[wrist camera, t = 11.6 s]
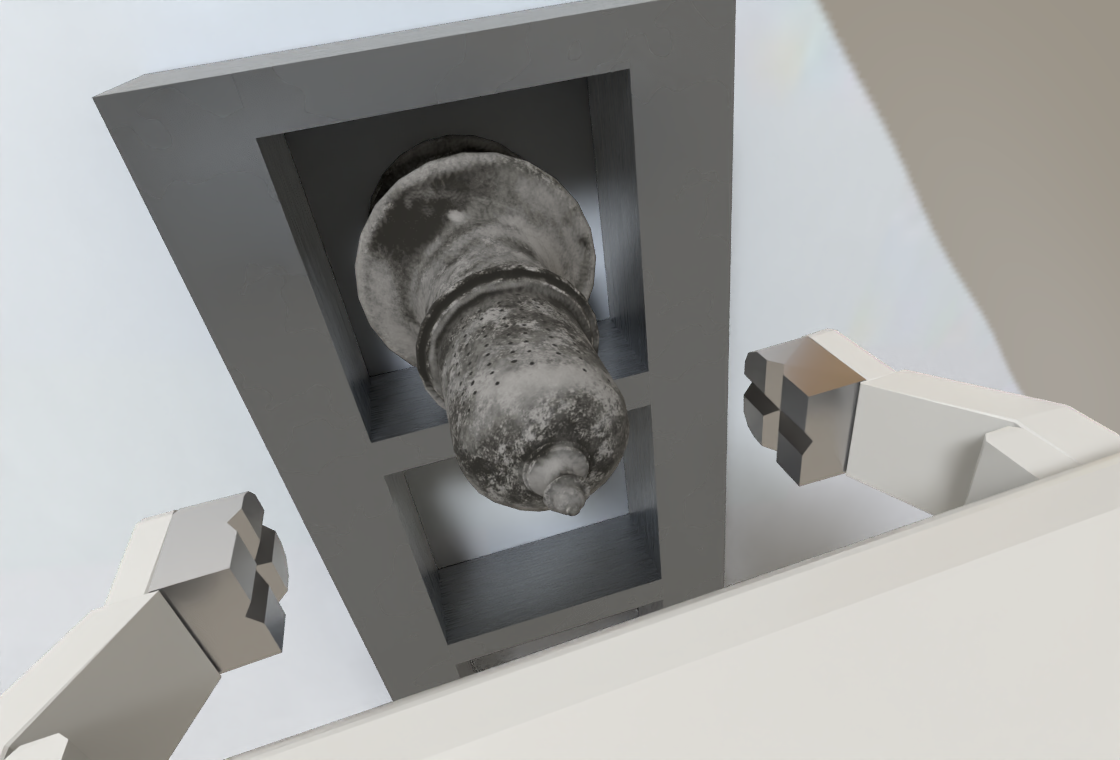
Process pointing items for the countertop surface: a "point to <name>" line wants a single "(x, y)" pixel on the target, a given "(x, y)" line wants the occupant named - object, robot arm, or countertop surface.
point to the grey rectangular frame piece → (400, 397)
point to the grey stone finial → (496, 318)
